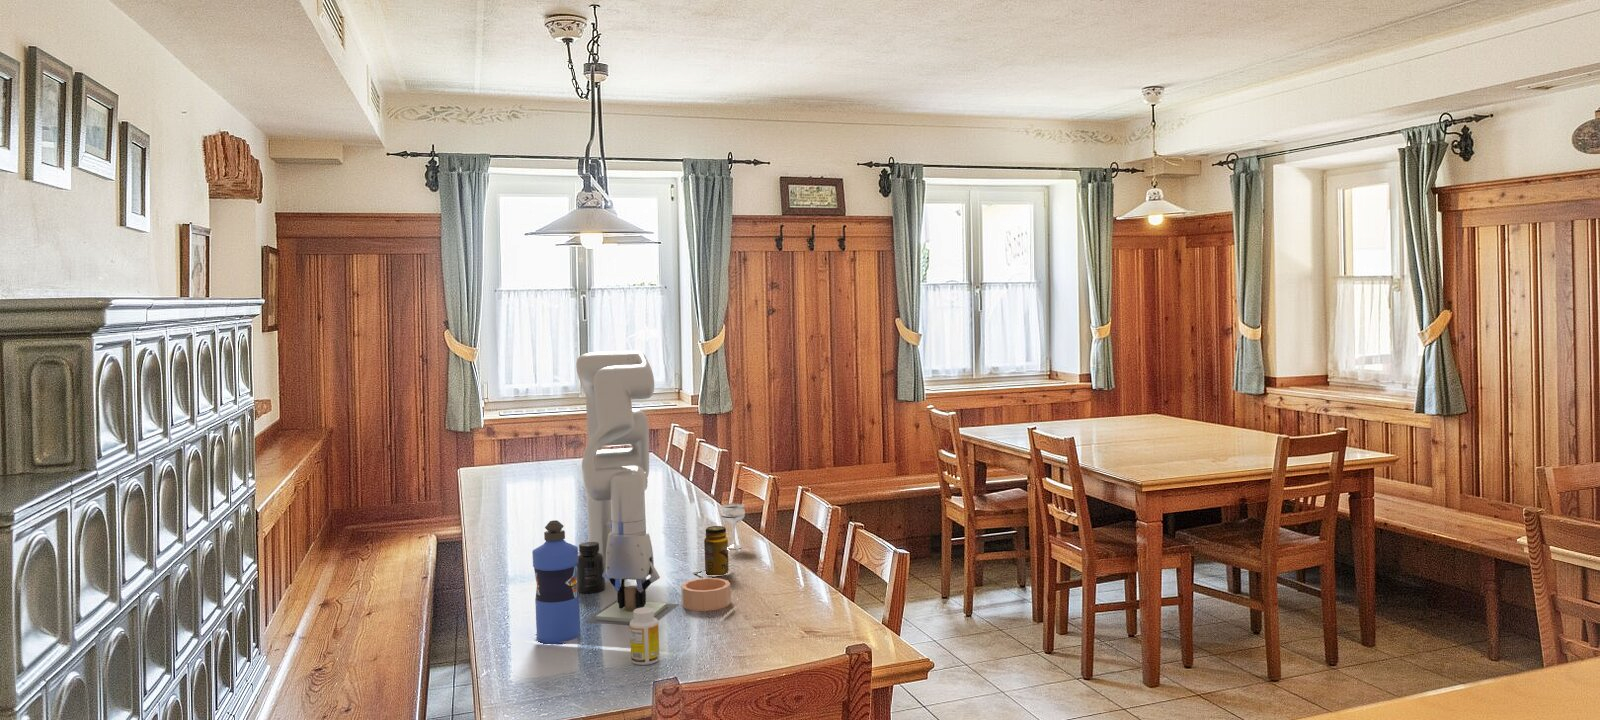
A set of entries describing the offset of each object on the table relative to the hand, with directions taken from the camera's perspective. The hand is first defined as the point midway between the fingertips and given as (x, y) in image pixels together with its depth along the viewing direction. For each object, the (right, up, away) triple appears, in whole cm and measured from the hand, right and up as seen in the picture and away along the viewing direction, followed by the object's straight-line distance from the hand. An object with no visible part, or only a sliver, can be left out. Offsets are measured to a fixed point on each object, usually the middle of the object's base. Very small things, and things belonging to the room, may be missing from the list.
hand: (632, 606), depth 230 cm
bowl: (+16, -1, +6) cm, 17 cm away
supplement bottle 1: (-13, -1, +19) cm, 24 cm away
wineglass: (+19, +2, +60) cm, 63 cm away
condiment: (+16, 0, +33) cm, 37 cm away
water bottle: (-13, -4, -14) cm, 19 cm away
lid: (0, -1, 0) cm, 1 cm away
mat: (0, -2, 0) cm, 2 cm away
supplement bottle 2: (+7, -4, -29) cm, 30 cm away
